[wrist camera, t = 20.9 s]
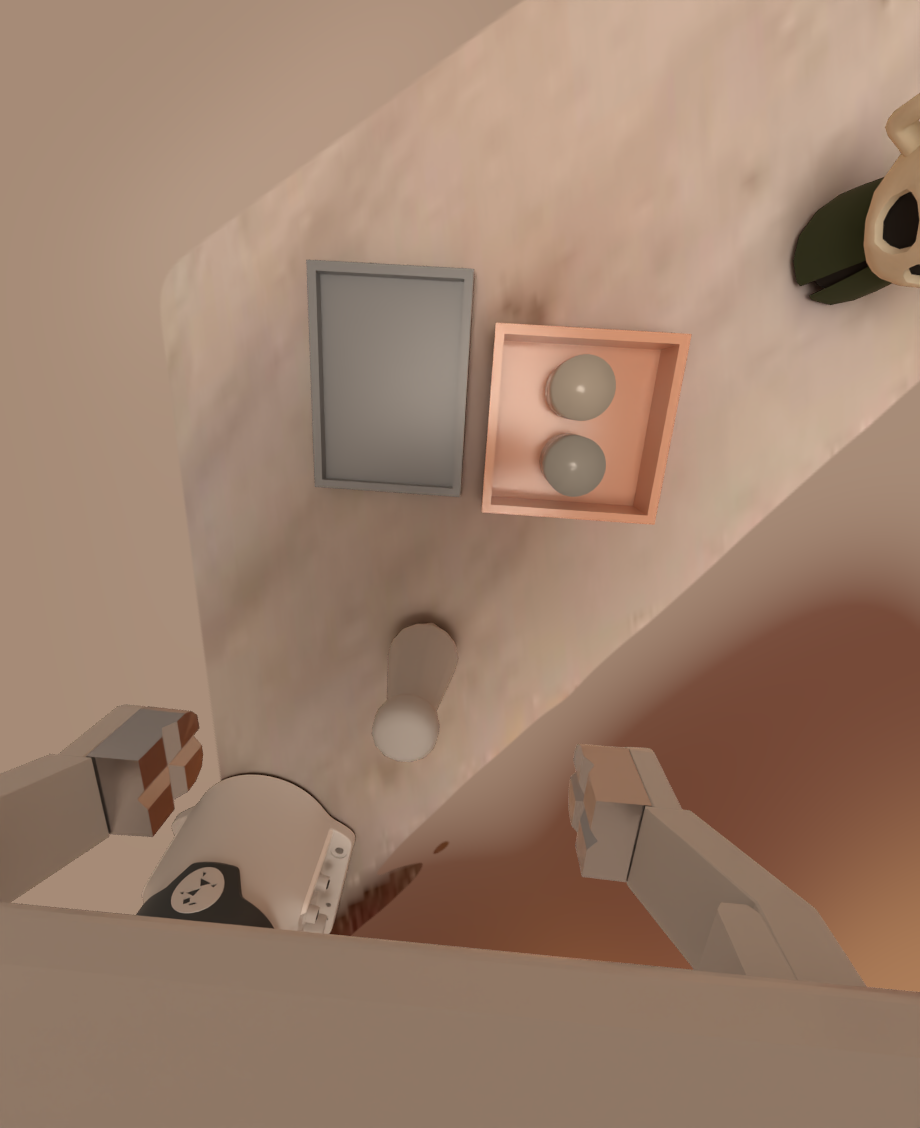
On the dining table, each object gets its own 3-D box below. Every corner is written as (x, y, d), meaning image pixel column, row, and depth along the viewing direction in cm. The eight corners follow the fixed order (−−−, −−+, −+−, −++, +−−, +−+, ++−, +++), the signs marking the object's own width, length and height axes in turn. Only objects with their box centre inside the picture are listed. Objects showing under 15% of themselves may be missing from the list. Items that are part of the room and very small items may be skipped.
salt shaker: (410, 680, 43) (380, 789, 31) (382, 626, 42) (339, 720, 29) (470, 658, 42) (463, 763, 30) (443, 603, 41) (425, 690, 28)
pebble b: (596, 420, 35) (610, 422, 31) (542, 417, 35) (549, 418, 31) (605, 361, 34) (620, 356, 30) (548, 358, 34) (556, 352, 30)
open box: (637, 512, 37) (654, 524, 34) (481, 501, 38) (481, 512, 34) (668, 342, 34) (691, 334, 30) (494, 331, 34) (495, 322, 30)
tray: (461, 493, 38) (460, 497, 36) (320, 484, 38) (314, 486, 37) (474, 274, 33) (473, 268, 31) (313, 265, 33) (306, 259, 32)
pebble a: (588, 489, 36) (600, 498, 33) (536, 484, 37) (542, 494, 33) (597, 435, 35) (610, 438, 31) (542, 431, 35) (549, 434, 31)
